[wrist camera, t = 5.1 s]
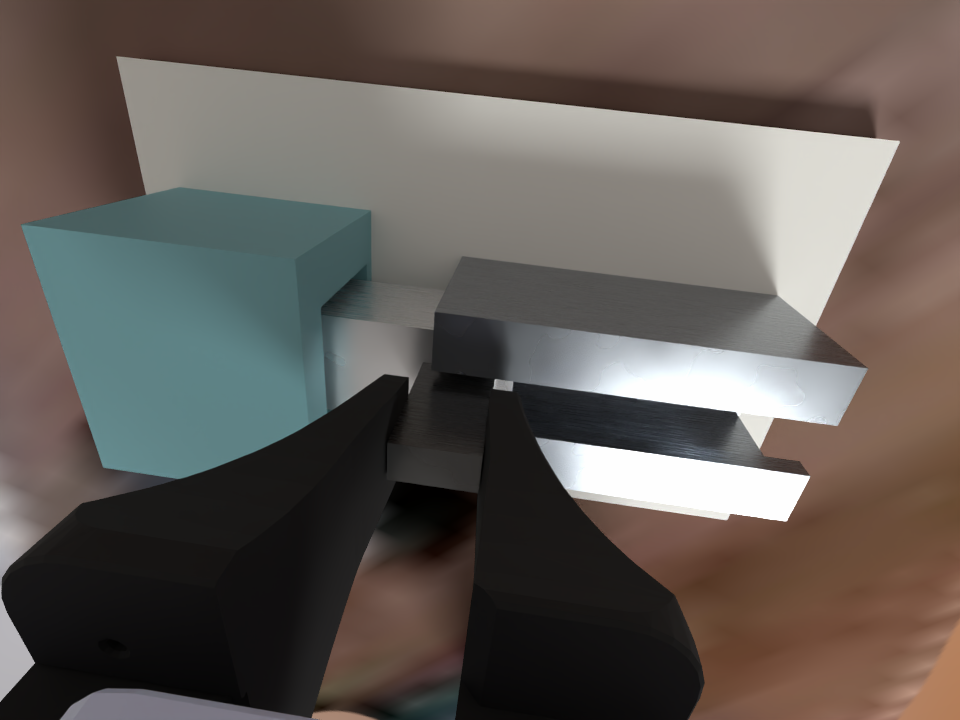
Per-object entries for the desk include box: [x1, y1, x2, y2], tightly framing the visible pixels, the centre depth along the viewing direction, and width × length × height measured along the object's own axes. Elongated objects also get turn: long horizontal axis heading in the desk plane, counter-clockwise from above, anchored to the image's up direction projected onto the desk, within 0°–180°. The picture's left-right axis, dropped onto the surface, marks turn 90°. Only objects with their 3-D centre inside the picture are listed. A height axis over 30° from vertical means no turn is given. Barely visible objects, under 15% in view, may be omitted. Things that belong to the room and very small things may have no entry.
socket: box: [21, 187, 372, 479], centre depth 15 cm, size 7×6×6 cm
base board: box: [116, 56, 900, 520], centre depth 17 cm, size 14×22×1 cm, turn 85°
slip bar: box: [321, 278, 513, 493], centre depth 13 cm, size 3×10×7 cm, turn 85°
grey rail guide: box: [431, 256, 868, 521], centre depth 15 cm, size 5×10×5 cm, turn 85°
